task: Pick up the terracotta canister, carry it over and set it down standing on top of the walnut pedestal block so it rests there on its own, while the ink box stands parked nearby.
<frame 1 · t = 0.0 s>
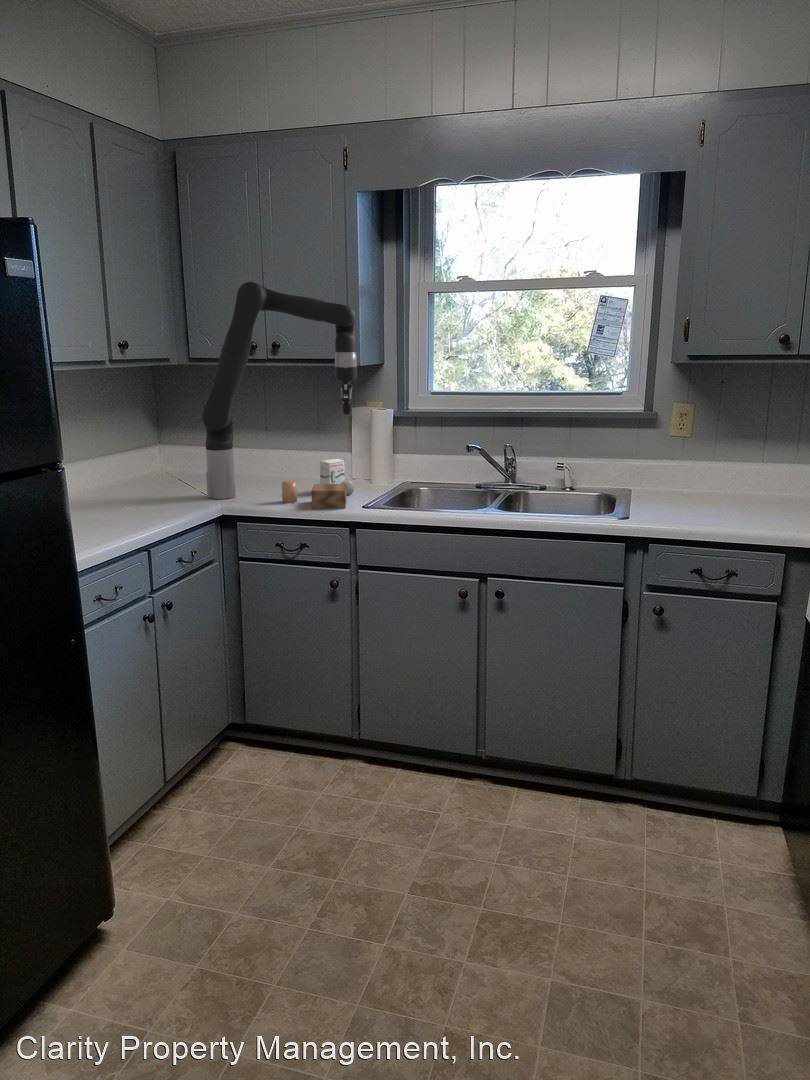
hand: (347, 413, 278), 29 cm above the counter, fingers open, 8 cm apart
walnut pedestal: (329, 504, 270), on the counter
ink box: (332, 493, 291), on the counter
terracotta canister: (289, 502, 275), on the counter
off-white ball: (346, 488, 285), point 2 cm above the counter, tilted 90°
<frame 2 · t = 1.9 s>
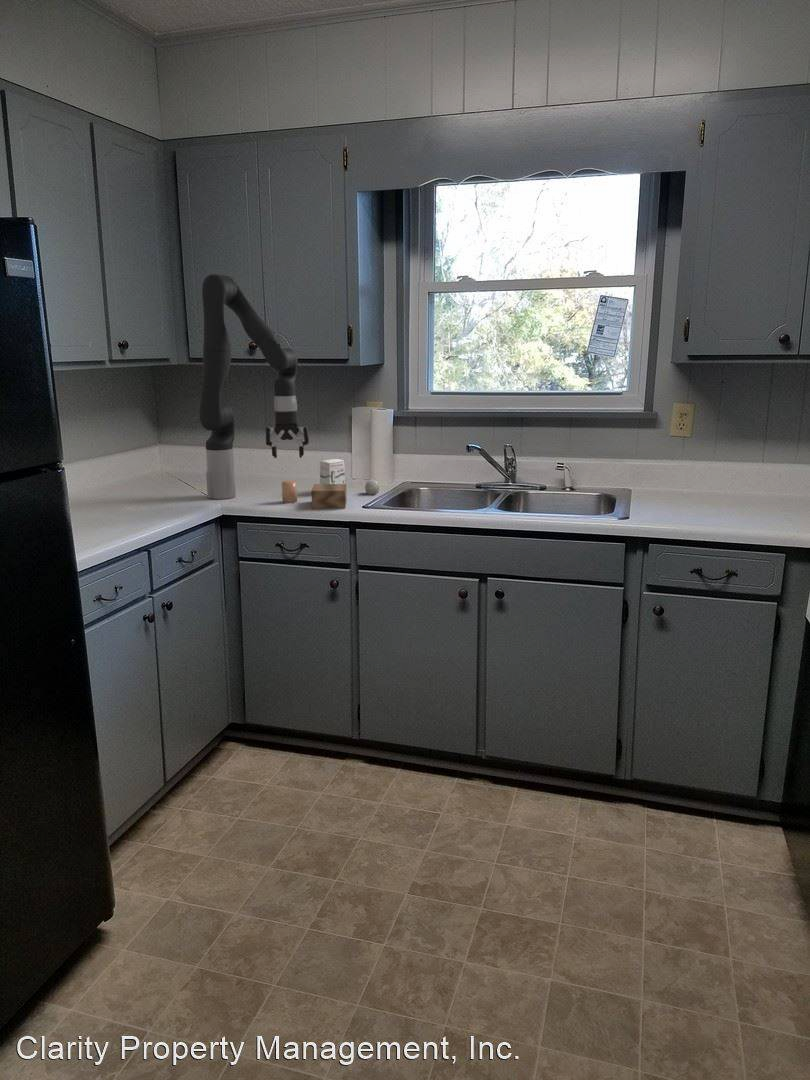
hand: (288, 457, 271), 15 cm above the counter, fingers open, 8 cm apart
off-white ball: (372, 488, 285), point 2 cm above the counter, tilted 90°
everything else where it was.
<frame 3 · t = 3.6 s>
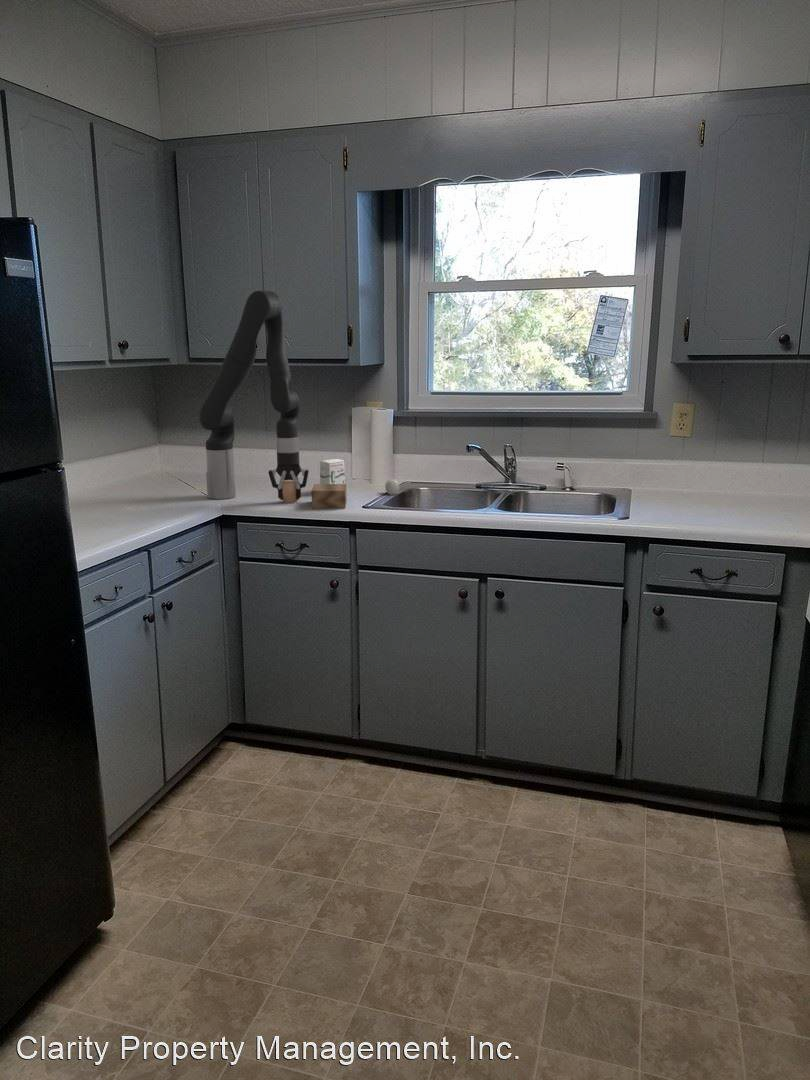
hand: (289, 499, 275), 1 cm above the counter, fingers closed on terracotta canister, 5 cm apart
terracotta canister: (289, 502, 275), on the counter, touching gripper
off-white ball: (392, 488, 286), point 2 cm above the counter, tilted 90°
everything else where it was.
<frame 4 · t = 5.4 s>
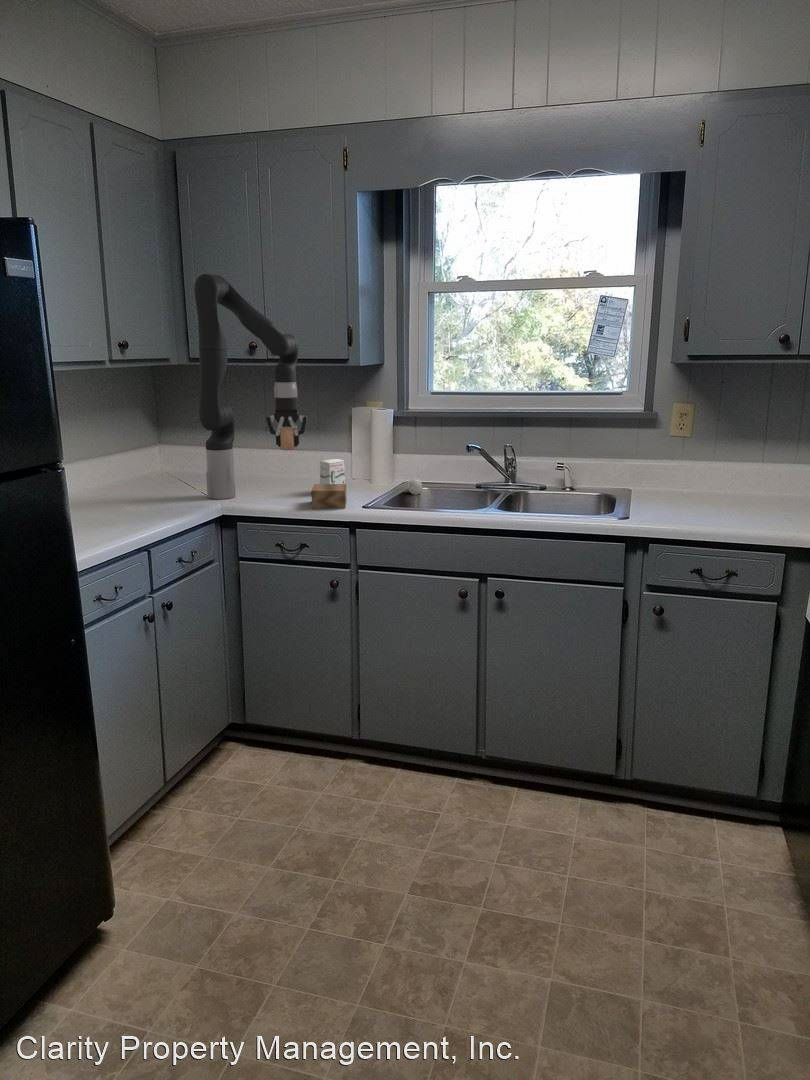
hand: (287, 446, 270), 19 cm above the counter, fingers closed on terracotta canister, 5 cm apart
terracotta canister: (287, 449, 270), point 18 cm above the counter, touching gripper
off-white ball: (415, 487, 286), point 2 cm above the counter, tilted 90°
everything else where it was.
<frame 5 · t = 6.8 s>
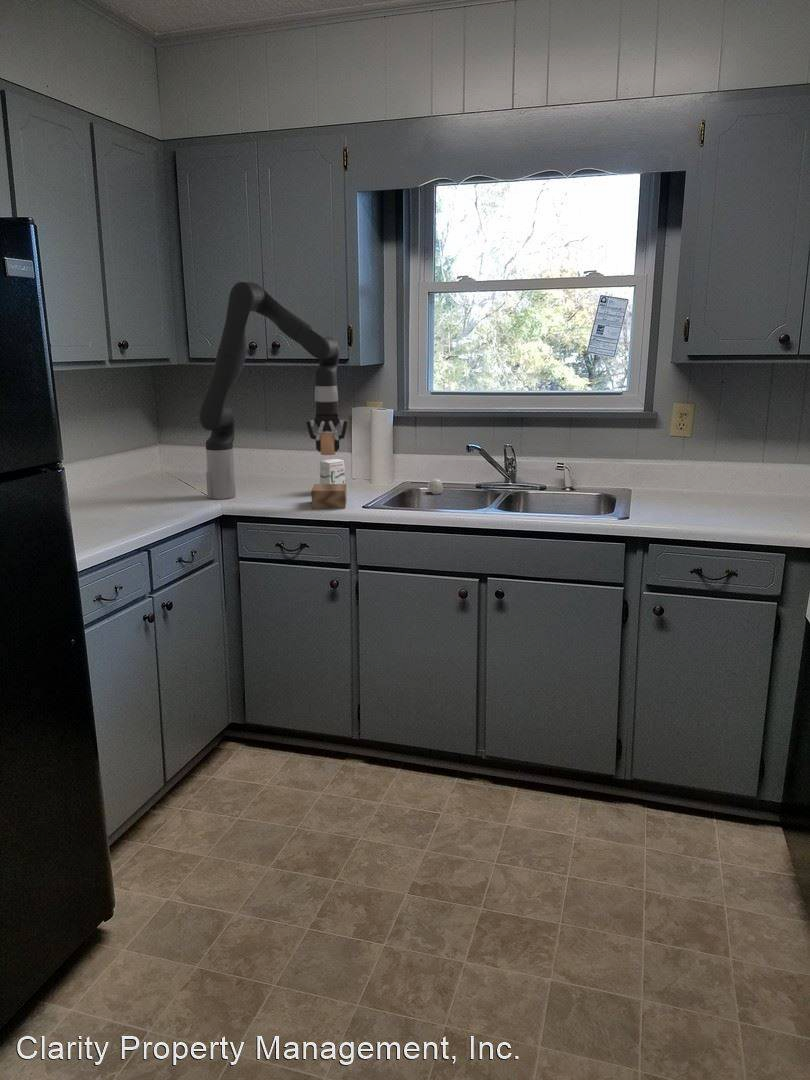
hand: (327, 451, 265), 18 cm above the counter, fingers closed on terracotta canister, 5 cm apart
terracotta canister: (327, 454, 266), point 17 cm above the counter, touching gripper
off-white ball: (436, 487, 286), point 2 cm above the counter, tilted 90°
everything else where it was.
when the fingers open (8 cm above the counter, at t = 9.0 s): terracotta canister stays where it is, resting on walnut pedestal.
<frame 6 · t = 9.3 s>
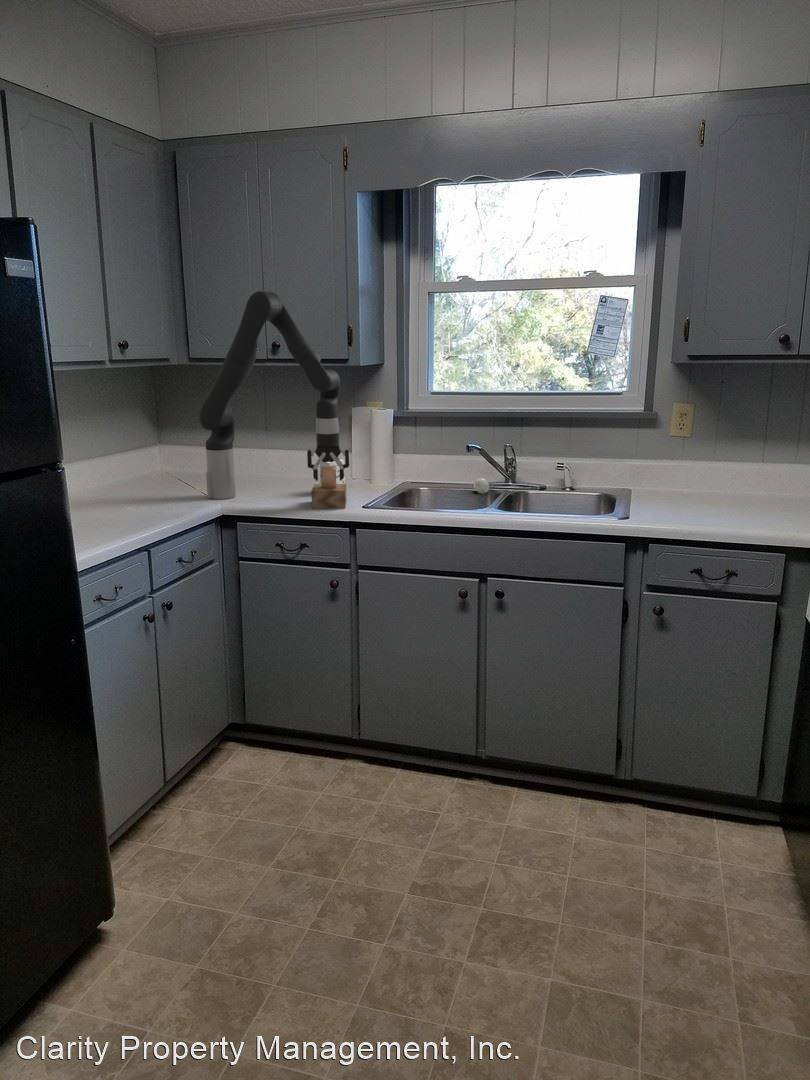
hand: (328, 480, 268), 8 cm above the counter, fingers open, 7 cm apart
terracotta canister: (328, 487, 268), point 6 cm above the counter, touching walnut pedestal
off-white ball: (482, 486, 287), point 2 cm above the counter, tilted 90°
everything else where it was.
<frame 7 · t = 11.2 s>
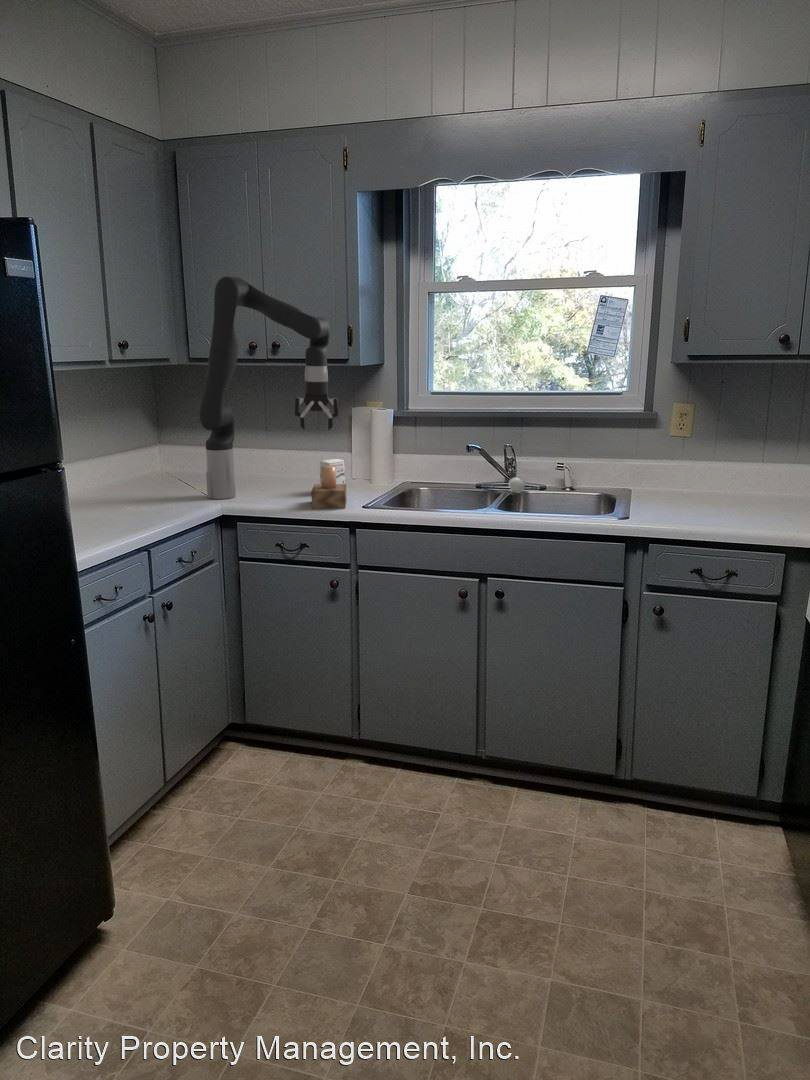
hand: (316, 429, 266), 25 cm above the counter, fingers open, 8 cm apart
off-white ball: (517, 486, 288), point 2 cm above the counter, tilted 90°
everything else where it was.
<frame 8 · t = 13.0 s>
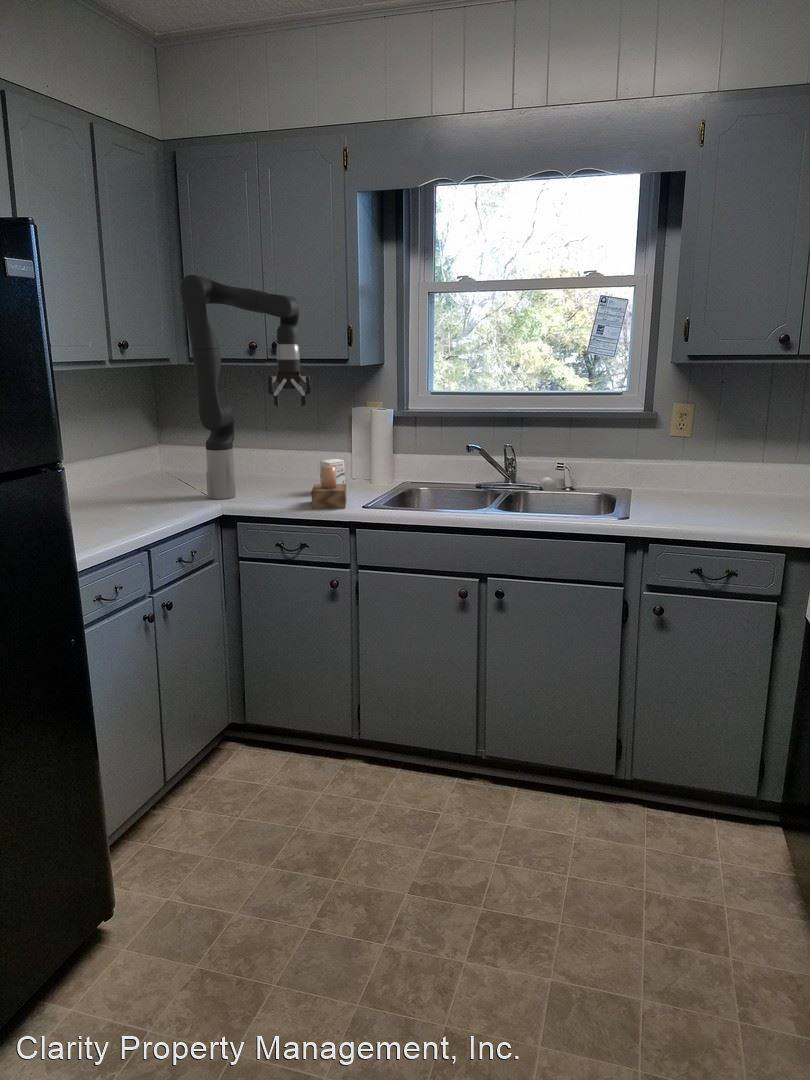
hand: (290, 406, 271), 32 cm above the counter, fingers open, 8 cm apart
off-white ball: (549, 486, 288), point 2 cm above the counter, tilted 90°
everything else where it was.
at the end: terracotta canister inside the target area on the walnut pedestal (0.1 cm from its centre), point 6.0 cm above the walnut pedestal's base; terracotta canister tilted 0°; the gripper is holding nothing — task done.
